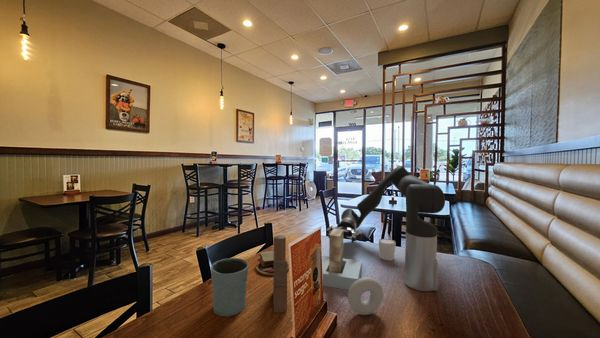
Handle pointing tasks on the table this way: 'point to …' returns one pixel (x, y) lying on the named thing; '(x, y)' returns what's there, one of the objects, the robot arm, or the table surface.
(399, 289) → the table surface
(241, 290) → the grey-blue cup
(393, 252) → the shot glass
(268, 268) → the toy sandwich meal
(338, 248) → the plank
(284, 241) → the wooden block
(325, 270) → the slotted base
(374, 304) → the donut
